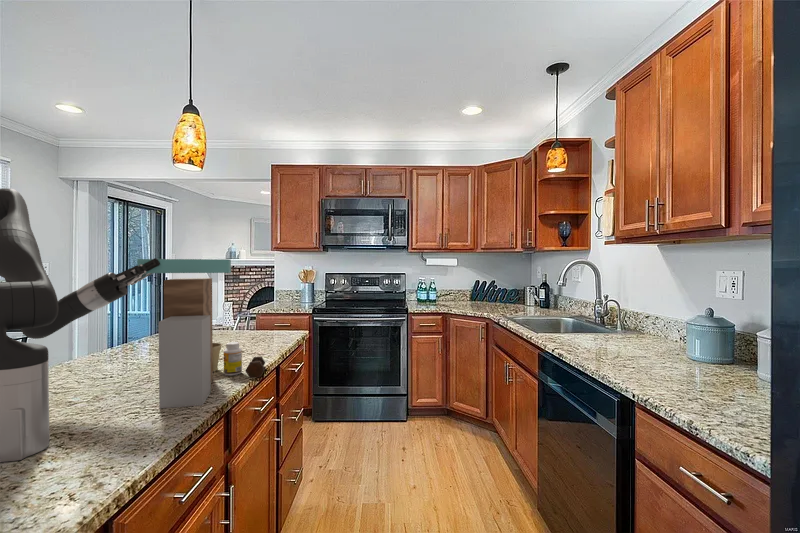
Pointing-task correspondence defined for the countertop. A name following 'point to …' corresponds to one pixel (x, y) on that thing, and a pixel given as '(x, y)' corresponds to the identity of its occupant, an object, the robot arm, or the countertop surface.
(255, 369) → the hex dumbbell
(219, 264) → the teal bar
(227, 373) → the supplement bottle
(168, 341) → the grey block
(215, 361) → the flower pot
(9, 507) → the countertop surface
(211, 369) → the walnut stand
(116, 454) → the countertop surface
